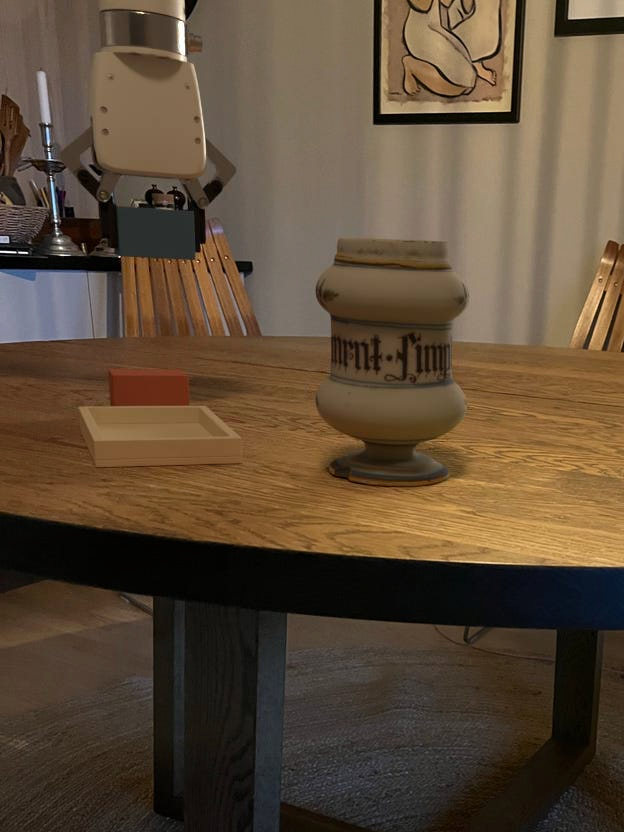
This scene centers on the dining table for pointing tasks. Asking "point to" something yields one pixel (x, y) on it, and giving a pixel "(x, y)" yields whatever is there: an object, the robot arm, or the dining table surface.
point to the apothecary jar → (391, 356)
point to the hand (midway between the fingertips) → (154, 248)
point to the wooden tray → (157, 436)
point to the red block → (148, 387)
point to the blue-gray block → (155, 233)
